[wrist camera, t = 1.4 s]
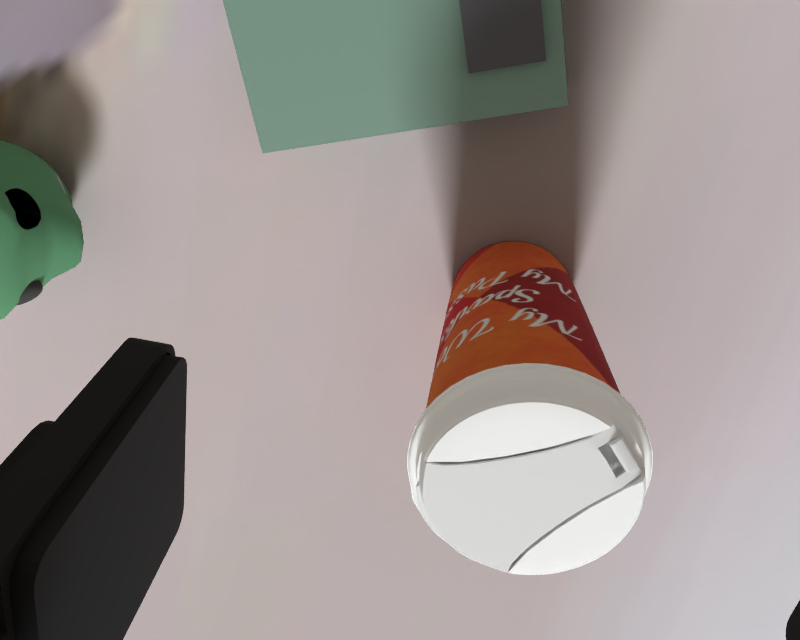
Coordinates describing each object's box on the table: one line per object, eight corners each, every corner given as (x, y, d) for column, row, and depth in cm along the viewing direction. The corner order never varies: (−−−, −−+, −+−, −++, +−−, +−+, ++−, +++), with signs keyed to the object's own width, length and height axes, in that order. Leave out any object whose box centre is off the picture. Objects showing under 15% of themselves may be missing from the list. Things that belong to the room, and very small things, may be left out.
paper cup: (547, 186, 32) (591, 343, 20) (623, 322, 35) (703, 536, 22) (396, 269, 35) (351, 455, 22) (477, 390, 37) (477, 617, 25)
